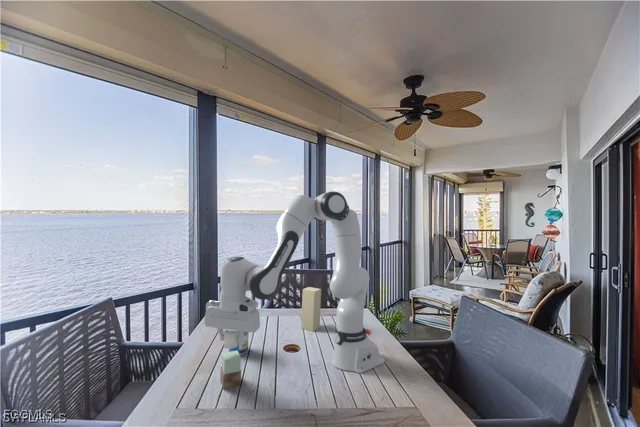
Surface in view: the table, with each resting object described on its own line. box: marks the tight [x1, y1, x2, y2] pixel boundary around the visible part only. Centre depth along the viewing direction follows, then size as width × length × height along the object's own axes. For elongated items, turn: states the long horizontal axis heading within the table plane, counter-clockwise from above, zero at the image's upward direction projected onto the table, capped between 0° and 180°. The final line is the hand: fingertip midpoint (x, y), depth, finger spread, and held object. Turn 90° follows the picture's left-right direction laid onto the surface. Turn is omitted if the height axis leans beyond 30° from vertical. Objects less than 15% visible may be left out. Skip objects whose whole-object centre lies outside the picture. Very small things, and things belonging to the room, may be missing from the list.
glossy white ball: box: [223, 329, 239, 350], centre depth 108 cm, size 5×5×5 cm
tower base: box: [219, 366, 242, 390], centre depth 108 cm, size 6×6×5 cm
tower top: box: [221, 351, 242, 374], centre depth 108 cm, size 6×6×5 cm
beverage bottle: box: [228, 331, 250, 356], centre depth 132 cm, size 8×8×20 cm
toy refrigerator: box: [300, 286, 322, 332], centre depth 161 cm, size 8×7×21 cm
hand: (231, 341), depth 108 cm, fingers closed on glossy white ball, 5 cm apart
